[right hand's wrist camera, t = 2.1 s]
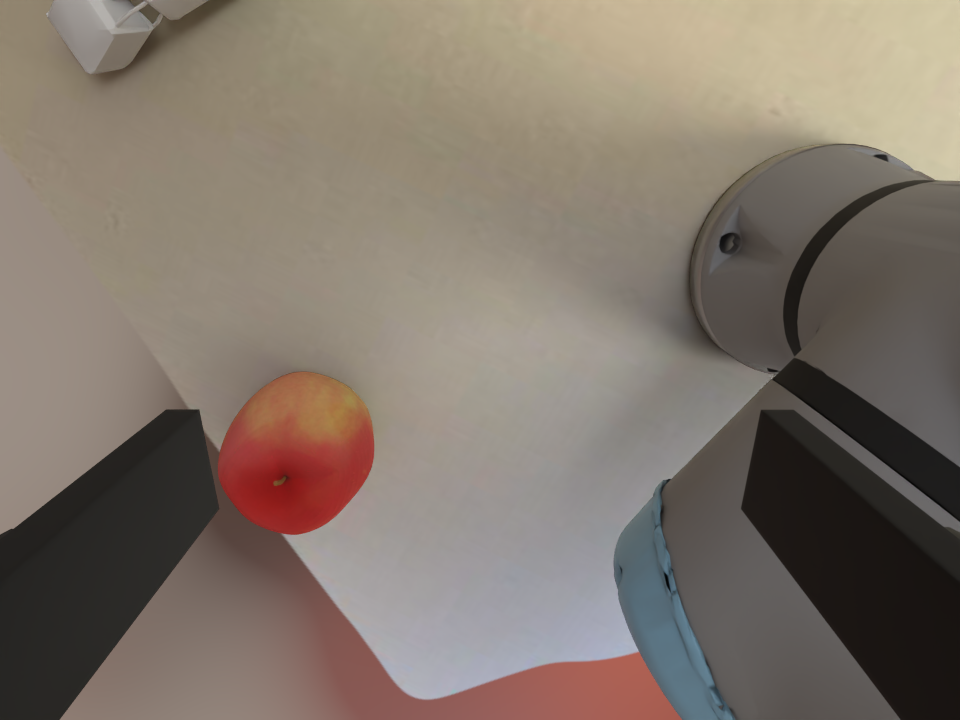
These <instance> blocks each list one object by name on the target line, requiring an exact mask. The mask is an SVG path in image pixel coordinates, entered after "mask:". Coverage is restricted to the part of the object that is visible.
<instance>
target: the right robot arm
mask: <svg viewBox="0 0 960 720" xmlns="http://www.w3.org/2000/svg"><path fill="white" fill-rule="evenodd" d="M690 292H691V299H692V303H693V307H694V310H695V313H696V315H697V318H698V320H699V322H700V324H701V326H702V327H703V329H704V330H705V332H706V333H707V334H708V336H709V337H710V338H711V339H712V340H713V341H714V342H715V343H716V344H717V345H718V346H719V347H720V348H721V349H723V350H724V351H725V352H727V353H728V354H729V355H731V356H732V357H733V358H735V359H736V360H737V361H739V362H741V363H742V364H744V365H746V366H748V367H750V368H753V369H755V370H758V371H761V372H765V373H769V374H775V375H776V376H775V377H774V378H773V379H771V380H770V381H769V382H768V383H767V384H766V385H765V386H764V387H763V388H762V389H761V390H760V391H759V392H758V393H757V394H756V395H755V396H754V397H753V398H752V399H751V400H750V401H749V402H748V403H747V404H746V405H745V406H744V407H743V408H742V409H741V410H740V411H739V412H738V413H737V414H736V415H735V416H734V417H733V418H732V419H731V420H730V421H729V422H728V423H727V424H726V425H725V426H724V427H723V428H722V429H721V430H720V431H719V432H718V433H717V434H716V435H715V436H714V437H713V438H712V439H711V440H710V441H709V442H708V443H707V444H706V445H705V446H704V447H703V448H702V449H701V450H700V451H699V452H698V453H697V454H696V455H695V456H694V457H693V458H692V459H691V460H690V461H689V462H688V463H687V464H686V465H685V466H684V467H683V468H682V469H681V470H680V471H679V472H678V473H677V474H676V475H675V476H674V477H673V478H672V479H668V480H663V481H662V482H661V483H660V484H659V485H658V486H657V487H656V489H655V492H654V494H653V497H652V498H651V499H650V501H649V502H648V503H647V504H646V505H645V506H644V507H643V508H642V510H641V511H640V512H639V513H638V514H637V515H636V516H635V517H634V518H633V520H632V521H631V522H630V523H629V524H628V525H627V526H626V528H625V529H624V530H623V532H622V533H621V535H620V537H619V539H618V541H617V545H616V548H615V554H614V577H615V581H616V584H617V588H618V597H619V602H620V605H621V609H622V612H623V614H624V617H625V620H626V623H627V625H628V628H629V630H630V633H631V635H632V637H633V639H634V642H635V644H636V646H637V648H638V650H639V652H640V654H641V656H642V658H643V660H644V661H645V663H646V665H647V667H648V669H649V670H650V672H651V674H652V676H653V677H654V679H655V680H656V682H657V684H658V685H659V687H660V688H661V690H662V692H663V693H664V695H665V696H666V698H667V699H668V701H669V702H670V703H671V705H672V706H673V708H674V709H675V711H676V712H677V713H678V715H679V716H680V717H681V718H682V720H960V181H938V180H934V179H932V178H931V177H929V176H927V175H925V174H923V173H921V172H919V171H915V170H913V169H912V168H911V167H910V166H908V165H907V164H905V163H904V162H902V161H901V160H899V159H897V158H895V157H893V156H891V155H890V154H888V153H886V152H883V151H881V150H878V149H875V148H872V147H868V146H863V145H856V144H823V145H811V146H806V147H800V148H797V149H793V150H790V151H787V152H784V153H781V154H779V155H776V156H774V157H772V158H770V159H768V160H766V161H764V162H763V163H761V164H759V165H758V166H756V167H754V168H753V169H752V170H750V171H749V172H748V173H746V174H745V175H744V176H742V177H741V178H740V179H739V180H738V181H737V182H736V183H734V184H733V185H732V186H731V187H730V188H729V189H728V191H727V192H726V193H725V194H724V195H723V196H722V197H721V199H720V200H719V201H718V202H717V204H716V205H715V207H714V208H713V209H712V211H711V212H710V214H709V216H708V217H707V219H706V221H705V223H704V225H703V227H702V229H701V231H700V233H699V236H698V238H697V241H696V244H695V247H694V251H693V255H692V260H691V266H690ZM218 510H219V505H218V500H217V496H216V491H215V486H214V481H213V476H212V471H211V466H210V461H209V456H208V451H207V446H206V441H205V436H204V431H203V426H202V421H201V416H200V411H199V410H165V411H164V412H163V413H161V414H160V415H159V416H158V417H156V418H155V419H154V420H152V421H151V422H150V423H149V424H147V425H146V426H145V427H143V428H142V429H141V430H140V431H138V432H137V433H136V434H134V435H133V436H132V437H131V438H129V439H128V440H127V441H126V442H124V443H123V444H122V445H120V446H119V447H118V448H117V449H115V450H114V451H113V452H111V453H110V454H109V455H108V456H106V457H105V458H104V459H102V460H101V461H100V462H99V463H97V464H96V465H95V466H94V467H92V468H91V469H90V470H88V471H87V472H86V473H85V474H83V475H82V476H81V477H79V478H78V479H77V480H76V481H74V482H73V483H72V484H71V485H69V486H68V487H67V488H65V489H64V490H63V491H62V492H60V493H59V494H58V495H56V496H55V497H54V498H53V499H51V500H50V501H49V502H47V503H46V504H45V505H44V506H42V507H41V508H40V509H39V510H37V511H36V512H35V513H33V514H32V515H31V516H30V517H28V518H27V519H26V520H24V521H23V522H22V523H21V524H19V525H18V526H17V527H15V528H14V529H10V530H8V531H6V532H4V533H3V534H1V535H0V720H60V718H61V717H62V716H63V714H64V713H65V712H66V710H67V709H68V708H69V706H70V705H71V704H72V702H73V701H74V700H75V699H76V697H77V696H78V695H79V693H80V692H81V691H82V689H83V688H84V687H85V685H86V684H87V683H88V681H89V680H90V679H91V677H92V676H93V675H94V673H95V672H96V671H97V670H98V668H99V667H100V666H101V664H102V663H103V662H104V660H105V659H106V658H107V656H108V655H109V654H110V652H111V651H112V650H113V648H114V647H115V646H116V644H117V643H118V642H119V640H120V639H121V638H122V636H123V635H124V634H125V633H126V631H127V630H128V629H129V627H130V626H131V625H132V623H133V622H134V621H135V619H136V618H137V617H138V615H139V614H140V613H141V611H142V610H143V609H144V607H145V606H146V605H147V603H148V602H149V601H150V600H151V598H152V597H153V596H154V594H155V593H156V592H157V590H158V589H159V588H160V586H161V585H162V584H163V582H164V581H165V580H166V578H167V577H168V576H169V574H170V573H171V572H172V570H173V569H174V568H175V567H176V565H177V564H178V563H179V561H180V560H181V559H182V557H183V556H184V555H185V553H186V552H187V551H188V549H189V548H190V547H191V545H192V544H193V543H194V541H195V540H196V539H197V538H198V536H199V535H200V534H201V532H202V531H203V530H204V528H205V527H206V526H207V524H208V523H209V522H210V520H211V519H212V518H213V516H214V515H215V514H216V512H217V511H218Z"/></svg>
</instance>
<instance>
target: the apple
mask: <svg viewBox="0 0 960 720" xmlns="http://www.w3.org/2000/svg"><path fill="white" fill-rule="evenodd" d="M373 459H374V436H373V427H372V422H371V418H370V414H369V411H368V409H367V407H366V405H365V404H364V402H363V401H362V400H361V399H360V398H359V397H358V395H357V394H356V393H355V392H354V391H353V390H352V389H350V388H349V387H348V386H346V385H345V384H343V383H341V382H339V381H337V380H335V379H332V378H330V377H327V376H324V375H321V374H317V373H312V372H294V373H290V374H287V375H284V376H281V377H279V378H277V379H275V380H273V381H272V382H270V383H269V384H267V385H266V386H264V387H263V388H262V389H260V390H259V391H258V392H257V393H256V394H255V395H254V396H253V397H252V398H251V399H250V400H249V401H248V402H247V403H246V404H245V405H244V406H243V408H242V409H241V410H240V412H239V413H238V414H237V416H236V417H235V419H234V420H233V422H232V424H231V426H230V427H229V429H228V431H227V433H226V436H225V438H224V441H223V443H222V447H221V450H220V454H219V461H218V475H219V480H220V483H221V485H222V487H223V489H224V491H225V493H226V494H227V496H228V497H229V499H230V500H231V501H232V502H233V504H234V505H235V507H236V508H237V509H238V510H239V511H240V512H241V514H242V515H243V516H245V517H246V518H247V519H248V520H250V521H251V522H253V523H255V524H256V525H258V526H260V527H263V528H265V529H268V530H271V531H274V532H278V533H283V534H290V535H297V534H303V533H307V532H310V531H313V530H315V529H317V528H319V527H321V526H323V525H325V524H326V523H328V522H329V521H330V520H332V519H333V518H334V517H335V516H336V515H337V514H338V513H339V512H340V511H341V510H342V509H343V508H344V507H345V506H346V505H347V504H348V503H349V501H350V500H351V499H352V498H353V497H354V496H355V494H356V493H357V492H358V491H359V489H360V488H361V486H362V485H363V484H364V482H365V480H366V479H367V477H368V475H369V472H370V470H371V467H372V463H373Z"/></svg>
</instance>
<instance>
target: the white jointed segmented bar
mask: <svg viewBox="0 0 960 720" xmlns="http://www.w3.org/2000/svg"><path fill="white" fill-rule="evenodd" d="M207 1H209V0H145V1H143V2H142V3H140V4H139V5H137V6H136V7H135V6H134V5H133V4H132V3H131V2H130V1H129V0H54V1H53V3H52V5H51V8H50V10H49V12H47V13H46V14H47V18H48V19H49V20H50V22H51V23H52V25H53V26H54V27H55V29H56V30H57V32H58V33H59V35H60V36H61V37H62V39H63V40H64V42H65V43H66V45H67V46H68V47H69V49H70V50H71V52H72V53H73V55H74V56H75V57H76V59H77V60H78V62H79V63H80V64H81V66H82V67H83V69H84V70H85V71H86V72H87V73H88V74H97V73H103V72H108V71H114V70H119V69H123V68H125V67H126V66H127V65H129V64H130V63H131V62H132V61H133V59H134V58H135V56H136V55H137V53H138V51H139V50H140V48H141V47H142V45H143V44H144V42H145V41H146V39H147V38H148V36H149V35H150V33H151V32H152V30H153V29H154V28H155V27H156V26H157V25H159V24H160V22H161V20H162V18H163V16H165V17H166V18H168V19H169V20H179V19H180V18H181V17H183V16H184V15H186V14H188V13H189V12H191V11H192V10H194V9H196V8H197V7H199V6H200V5H202V4H204V3H205V2H207ZM148 4H149V5H150V6H152V7H153V8H154V9H156V10H157V11H158V12H159V15H158V17H157V19H156V21H155V22H154V23H153V24H152V23H151V22H150V21H149V20H148V19H147V18H146V17H145V16H144V15H143V14H142V13H141V12H140V11H139V10H140V9H142V8H143V7H145V6H146V5H148Z"/></svg>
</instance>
